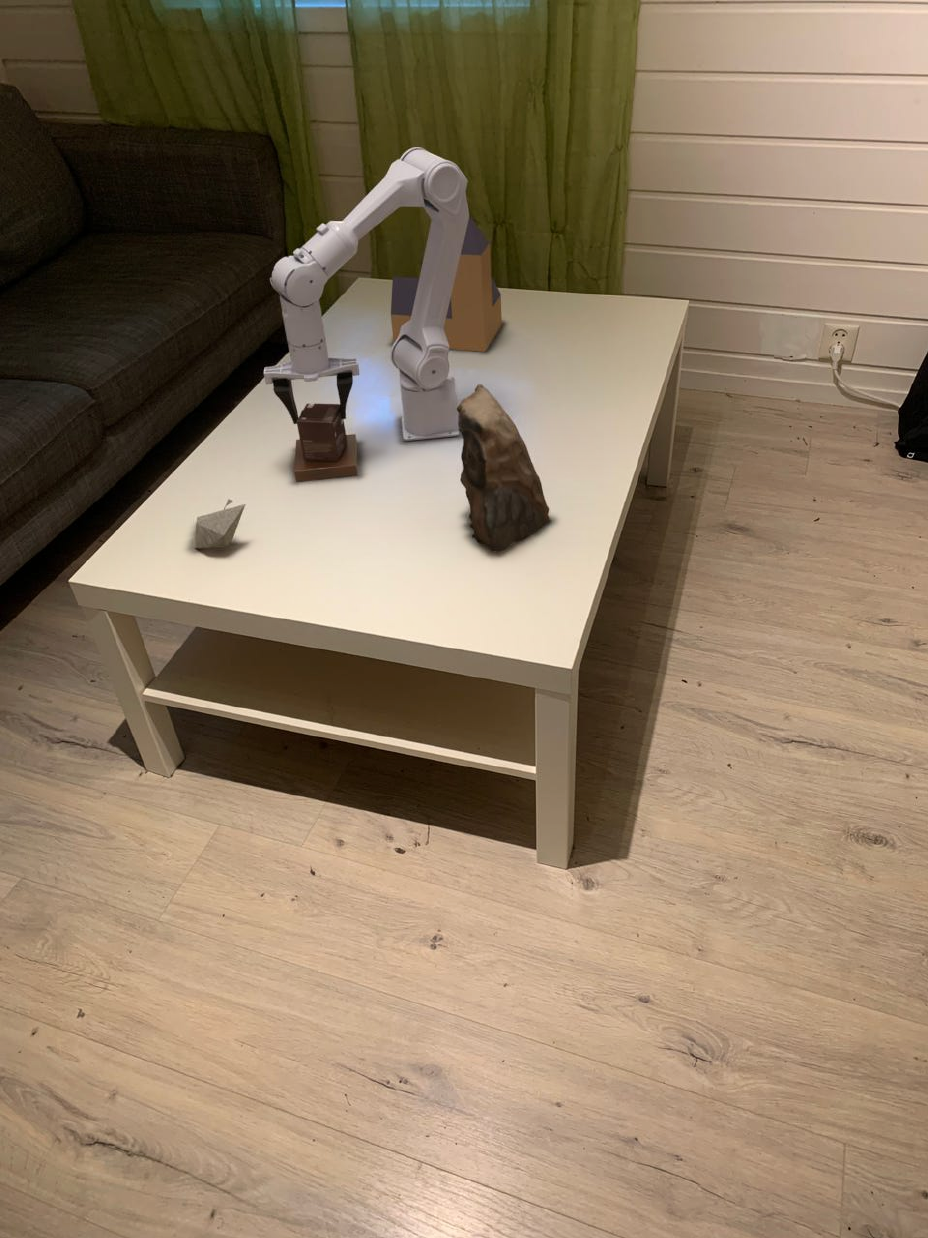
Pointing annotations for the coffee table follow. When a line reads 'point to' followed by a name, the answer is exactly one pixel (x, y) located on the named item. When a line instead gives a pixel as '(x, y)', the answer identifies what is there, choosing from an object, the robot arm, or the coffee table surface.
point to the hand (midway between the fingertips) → (319, 418)
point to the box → (322, 432)
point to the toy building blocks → (460, 297)
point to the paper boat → (217, 527)
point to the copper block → (327, 464)
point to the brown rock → (498, 474)
